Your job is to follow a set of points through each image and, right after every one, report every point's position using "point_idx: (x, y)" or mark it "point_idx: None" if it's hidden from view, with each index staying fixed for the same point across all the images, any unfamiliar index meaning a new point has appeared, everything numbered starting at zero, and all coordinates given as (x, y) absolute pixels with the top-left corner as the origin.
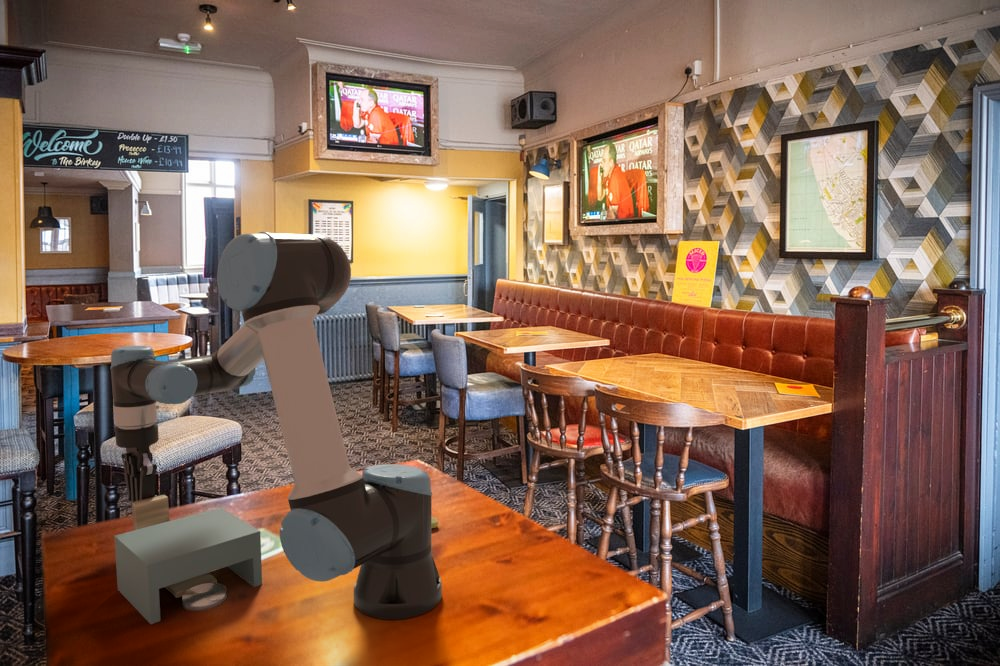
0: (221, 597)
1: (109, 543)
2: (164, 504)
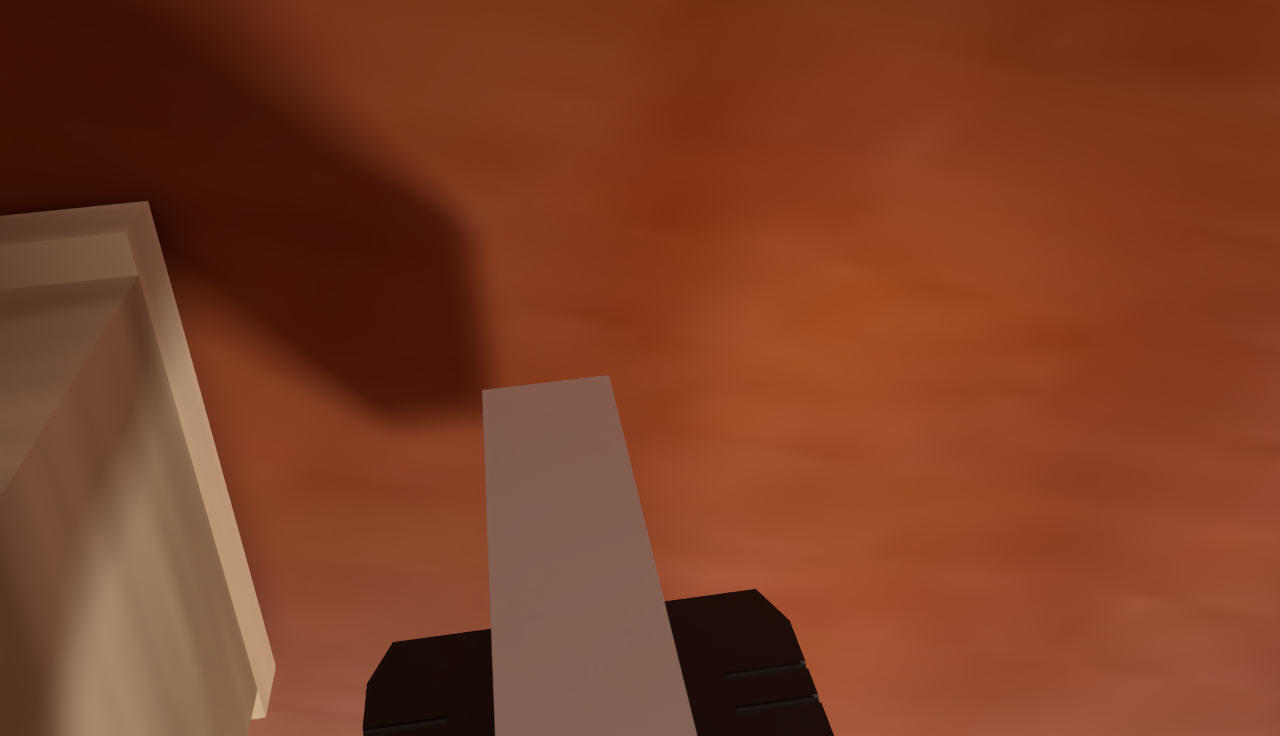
0: None
1: (1054, 33)
2: None
